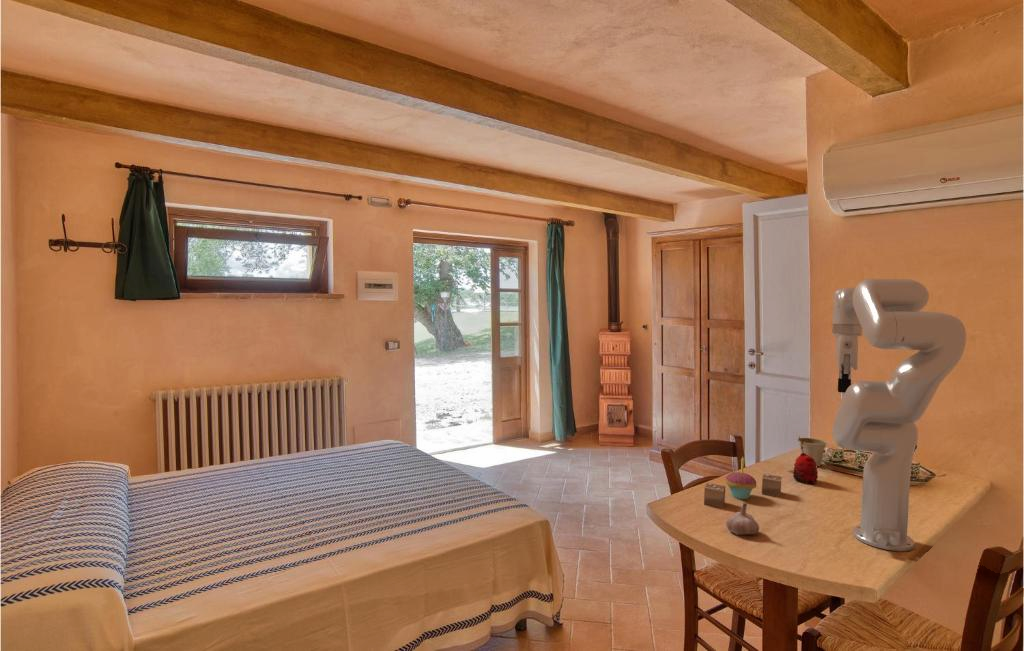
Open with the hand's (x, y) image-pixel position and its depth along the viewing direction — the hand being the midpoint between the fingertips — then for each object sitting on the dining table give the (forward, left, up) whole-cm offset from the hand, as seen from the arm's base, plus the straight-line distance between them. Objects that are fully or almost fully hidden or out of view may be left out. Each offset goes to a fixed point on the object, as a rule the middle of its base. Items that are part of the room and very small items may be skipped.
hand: (843, 392), depth 161 cm
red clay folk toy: (+12, +9, -32) cm, 36 cm away
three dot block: (-24, +32, -32) cm, 51 cm away
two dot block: (-6, +18, -32) cm, 37 cm away
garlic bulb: (-41, +23, -32) cm, 57 cm away
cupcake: (-14, +26, -32) cm, 44 cm away
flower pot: (+34, +7, -32) cm, 47 cm away
